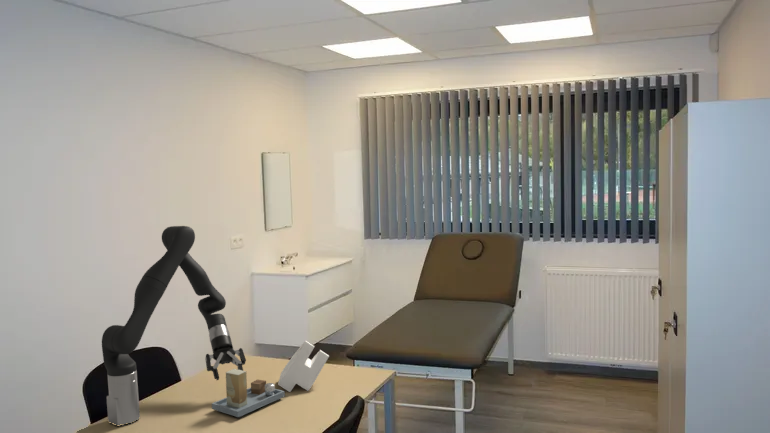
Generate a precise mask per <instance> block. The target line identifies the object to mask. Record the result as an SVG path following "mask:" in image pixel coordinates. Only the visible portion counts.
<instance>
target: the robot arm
mask: <svg viewBox="0 0 770 433" xmlns="http://www.w3.org/2000/svg"><path fill="white" fill-rule="evenodd" d="M195 241H196V234H195V230H194V229H193V228H192V227H190V226H187V225H173V226H168V227H165V229H164V230H163V231H162V233H161V242H162V244H163V246H164V248H166V252H165V253H164V254H163V255H162V257H161V258H160V259H159V260H157V261H156V262H155V263H153V265H151V266H150V267H149V268H148V269H147V270H146V272H144V274H143V275H142V277H141V279H140V280H139V282H138V283H137V285H136V287H135V292H134V299H133V303H134V304H133V310H132V312H131V314H130V316H129V318H128V320H127V321H126V323H125V324H124V325H120V324H114V325H110V326H108V327H106V329H105V330H104V331H103V334H102V337H101V349H102V350H101V351H102V359H103V365H104V367H105V369H106V371H107V372H106V374H107V386H108V387H107V388H108V395H106V407H107V408H106V410H107V411H106V412H107V420H108V421H109V422H111V423H114V424H116V425H120V424H126V423H131V422H133V421H136V420H138V419H139V417H140V418H141V416H140V400H139V399H140V398H139V386H138V383H139V382H138V371H137V370H138V369H137V362H136V361H135V360H134V359H133V358H132V357H131V356H130V355H129V354H131V353H133V352H134V351H135V350H136V349H137V348H138V345H139V344H140V341H141V339H142V337H143V335H144V333H145V330H146V327H147V326H148V324H149V321H150V319H151V317H152V315H153V313H154V312H155V310H156V308H157V305H159V302H160V301H161V299H162V297H163V296H164V294H165V292H166V290H167V288H168V287H169V284H170V282H171V280H172V279H173V277H174V275H175V273H176V272H177V270H178V268H179V267H180V269H181V270H182V272H183V273H184V275H185V276H186V277H187V280H188V281H189V283H190V285H191V288H192V289H193V291H194V293H195V294H196V295H197V296H198V297H199V296H200V297H202V299H199V301H198V303H197V308H198V310H199V312H200V314H201V315H202V317H203V318H204V320H205V323H206V325H207V329H208V333H209V334H208V337H209V342H210V345H211V350H212V354H209V353H207V354H205V364H206V371H207V372H212V375H213V378H214V380H216V381H219V380H220V374H219V371H218V370H219V369H218V367H219V366H220V364H221V365H225V364H230V363H231V364H233V365H235V366H237V370H242V371H244V368H243V365H246V361H247V359H246V357H245V353H244V350H243V348H241V347H240V348H238V349H235V348H234V346H233V342H232V339H231V334H230V331H229V329H228V326H227V321H226V318H225V316H224V314H223V313H217V312H219V311H222V310H224V309H225V307H226V304H227V302H226V299H225V297H224V296H223V295H222V293H221V292H219V290H217V288H215V286H214V285H213V283H212V282H211V280H210V277H209V276H208V274H207V272H206V271H205V269H204V268H203V267H202V266H201V265H200V264H199V263H198V262H197V261H196V260H195V259H194V258H193V257H192V256H191V255H190V253H189V252H190V250H191V248H192V247H193V245H194V243H195ZM203 296H205V297H203ZM236 355H237V356H238V357H239V358H238V357H237V356H236ZM212 359H213V360H215V362H214V364H213V366H212V364H211V361H212ZM139 420H140V419H139ZM139 420H138V421H139ZM136 422H137V421H136ZM131 424H132V423H131Z"/></svg>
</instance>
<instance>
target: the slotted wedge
mask: <svg viewBox="0 0 770 433" xmlns="http://www.w3.org/2000/svg"><path fill="white" fill-rule="evenodd" d="M314 348H315V345H313V344H312V343H310V342H309V341H307V340H304V342H302V344H301V345H300V347H299V348H298V349H297V350H296V351H295V353H293V355H292V357H291V358H290V359H289V360H288V361H287V363H286V365H285V366H284V368H283V369H282V371H281V372H280V375H279V378H278V383H277V386H280V387H281V388H283V389H284V390H285V391H287V392H289V393H290V392H291V391H292V390H293V389H294V387H295V386H296V385H298V386H299V387H301V388H302V389H304V390H306V392H307V391H310V389H311V388H312V387H313V385H314V383H315V382H316V380H317V378H318V376H319V374H320V373H321V371H322V369H323V368H324V366H325V364H326V363H327V361H328V359H329V358H330V355H329V354H327V353H326V352H324V351H323V350H321V349H319V351H318V352H317V353H316V354H315V355H314V356H313V358H311V359H310V355H311V354H312V352H313V350H314Z"/></svg>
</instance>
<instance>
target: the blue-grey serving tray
mask: <svg viewBox="0 0 770 433" xmlns="http://www.w3.org/2000/svg"><path fill="white" fill-rule="evenodd" d="M285 391H286V390H285ZM285 391H284V390H282V389H277V388H275V394H274V395H272V396H270V397H266V396H265V392H264V393H262V394H260V395H258V394H252V393H251V387H247V405H245V406H243V407H241V408H237V407H232V406H229V405H227V396H226V397H224V398H222V399H219V400H216V401H214V402H212V403H211V410H214V411H216V412H218V413H223V414H227V415H230V416H234V417H235V418H236V419H241V418H243V416H244V415H247V414H249V413H251V412H253V411H255V410H257V409H260V408H261V407H264V406H267V405H268V404H269V405H270V404H271V403H273V402H279V401H280V400H281V399H283V398H284V397H286V393H285Z"/></svg>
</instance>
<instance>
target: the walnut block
mask: <svg viewBox="0 0 770 433" xmlns="http://www.w3.org/2000/svg"><path fill="white" fill-rule="evenodd" d="M265 384H267V380H264V379H263V380H262V379H256V380H254V381H252V382H250V388H251V393H252V394H258V395H260V394H262V393H264V392H265Z"/></svg>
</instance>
